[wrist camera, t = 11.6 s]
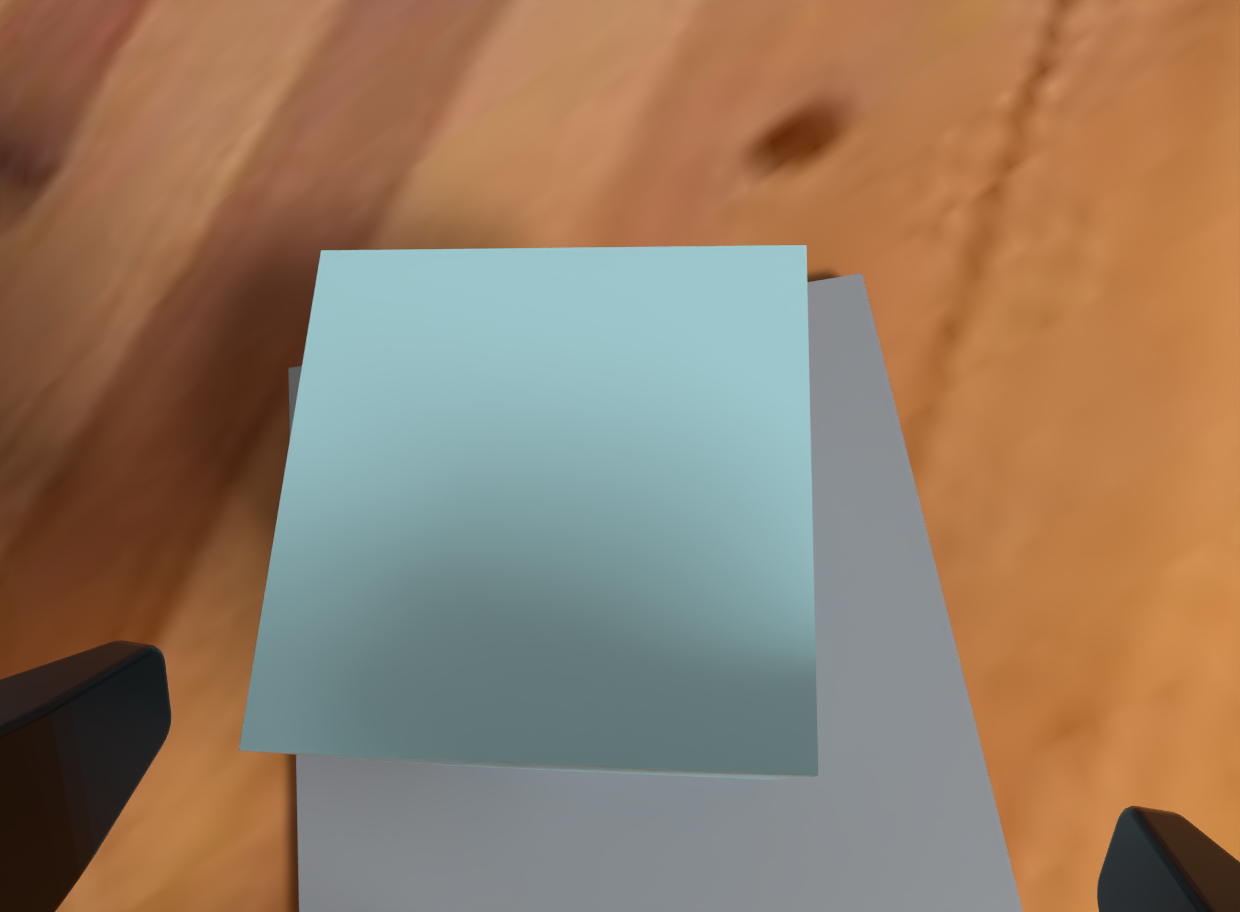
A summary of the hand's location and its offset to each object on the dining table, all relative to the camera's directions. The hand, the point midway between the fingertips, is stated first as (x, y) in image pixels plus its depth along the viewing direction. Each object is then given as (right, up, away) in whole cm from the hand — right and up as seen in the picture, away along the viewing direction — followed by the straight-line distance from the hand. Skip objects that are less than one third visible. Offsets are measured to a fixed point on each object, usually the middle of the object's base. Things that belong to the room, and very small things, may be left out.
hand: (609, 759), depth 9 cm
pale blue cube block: (0, 0, +12) cm, 12 cm away
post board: (0, -1, +12) cm, 13 cm away
